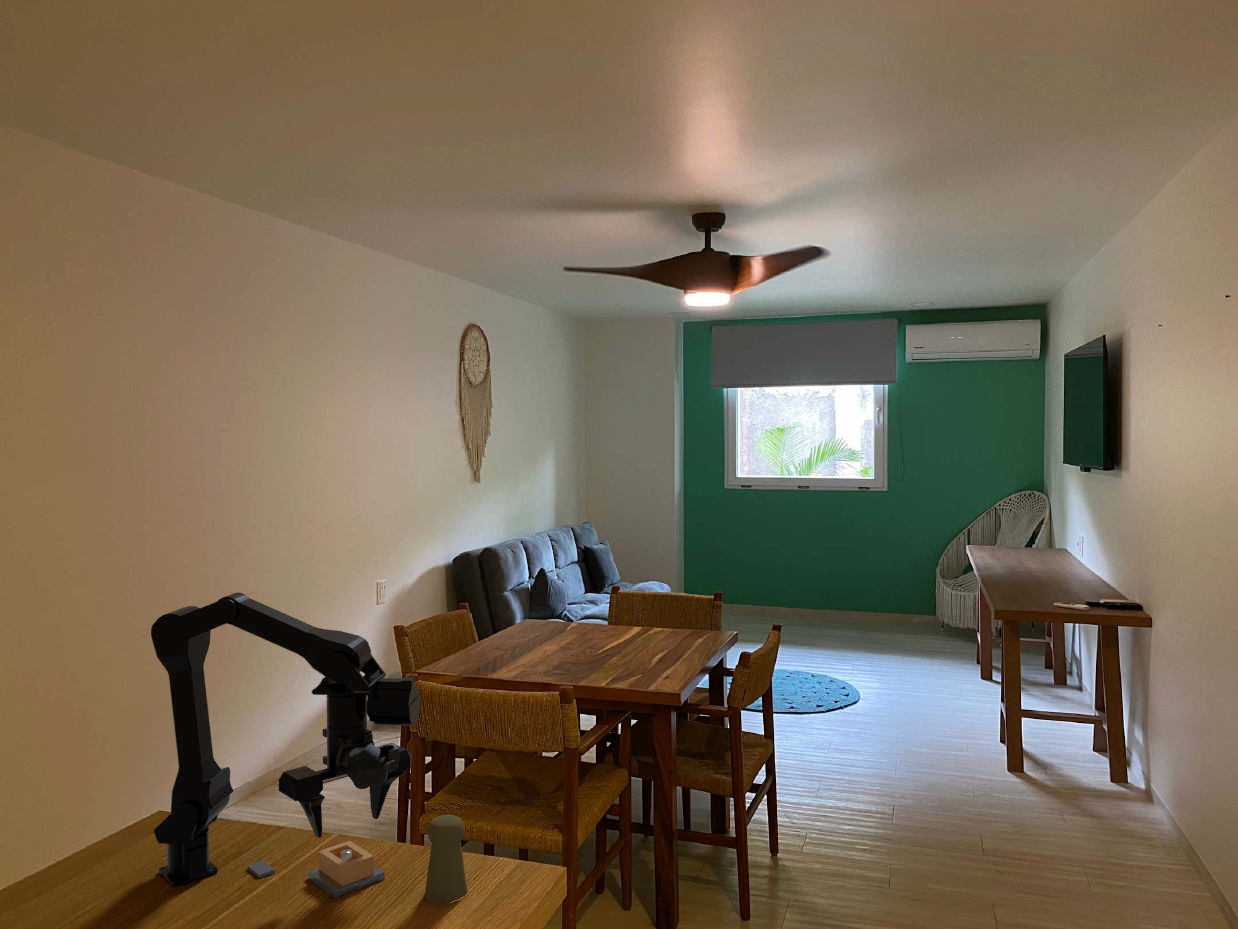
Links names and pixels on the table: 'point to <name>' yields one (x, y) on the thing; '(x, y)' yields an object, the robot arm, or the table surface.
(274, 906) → the table surface
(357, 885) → the plate
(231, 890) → the table surface
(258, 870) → the grey rectangular block
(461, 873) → the olive game pawn
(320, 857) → the link
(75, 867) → the table surface
